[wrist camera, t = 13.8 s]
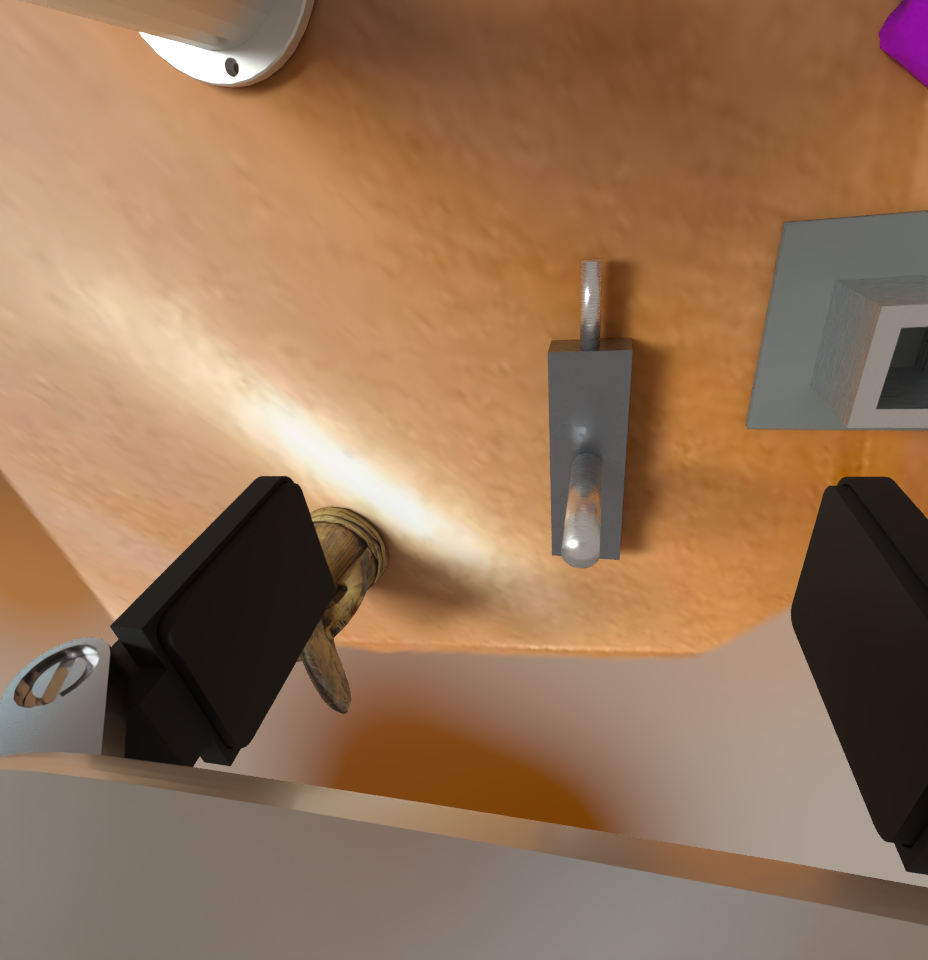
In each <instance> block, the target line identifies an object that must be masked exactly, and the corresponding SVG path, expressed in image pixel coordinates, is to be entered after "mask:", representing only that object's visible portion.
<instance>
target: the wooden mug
mask: <svg viewBox="0 0 928 960" xmlns="http://www.w3.org/2000/svg"><path fill="white" fill-rule="evenodd" d="M310 515H311V518H312V521H313V524H314V527H315V529H316V532H317V535H318V538H319V541H320V544H321V547H322V550H323V552H324V555H325V558H326V561H327V564H328V567H329V570H330V572H331V575H332V578H333V581H334V594H333V597H332V600H331V602H330V603H329V605H328V607H327V609H326V610H325V612H324V614H323V616H322V617H321V619H320V621H319V623H318V624H317V626H316V628H315V630H314V632H313V633H312V635H311V637H310V639H309V640H308V642H307V644H306V646H305V647H304V649H303V651H302V653H301V654H300V656H299V658H298V660H297V662H299V661H303V663H304V666H305V668H306V670H307V673H308V675H309V677H310V679H311V681H312V683H313V684H314V686H315V688H316V690H317V691H318V693H319V694H320V696H321V698H322V699H323V700H324V701H325V702H326V703H327V704H328V705H329V706H330V707H331V708H332V709H334V710H336V711H338V712H340V713H343V714H345V713H347V711H348V708H349V705H350V702H351V692H350V688H349V684H348V681H347V678H346V675H345V672H344V669H343V667H342V664H341V661H340V659H339V656H338V654H337V651H336V648H335V643H334V637H335V636H336V635H337V634H338V633H339V632H340V631H341V630H342V629H343V628H344V627H345V626H346V625H347V623H348V622H349V621H350V619H351V618H352V617H353V615H354V614H355V613H356V611H357V609H358V608H359V606H360V604H361V603H362V601H363V598H364V596H365V593H366V591H367V590H368V589H369V588H370V587H371V586H372V585H374V584H375V583H376V582H377V580H378V579H379V578H380V576H381V575H382V574H383V572H384V571H385V569H386V566H387V564H388V552H387V550H386V548H385V546H384V543H383V541H382V539H381V537H380V536H379V534H378V533H377V531H376V530H375V529H374V528H373V527H372V526H371V525H370V524H369V522H367V521H366V520H364V519H363V518H362V517H360V516H359V515H357V514H355V513H353V512H351V511H349V510H347V509H342V508H333V507H325V508H322V509H318V510H316V511H314V512H312V513H311V514H310Z"/></svg>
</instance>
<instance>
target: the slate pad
mask: <svg viewBox="0 0 928 960" xmlns="http://www.w3.org/2000/svg"><path fill="white" fill-rule="evenodd" d="M912 275H928V210H927V211H915V212H903V213H891V214H878V215H866V216H854V217H842V218H830V219H817V220H805V221H793V222H784V225H783V230H782V235H781V241H780V246H779V251H778V257H777V262H776V267H775V272H774V278H773V283H772V288H771V294H770V299H769V304H768V310H767V315H766V320H765V325H764V331H763V336H762V341H761V347H760V352H759V357H758V362H757V368H756V373H755V378H754V384H753V389H752V394H751V400H750V405H749V410H748V415H747V421H746V427H747V429H814V430H928V428H847V427H846V426H845V425H844V424H843V422H842V421H841V420H840V419H839V418H838V417H837V415H836V414H835V413H834V412H833V411H832V410H831V409H830V407H829V406H828V405H827V404H826V403H825V402H824V401H823V399H822V398H821V397H820V396H819V395H818V394H817V393H816V391H815V390H814V389H813V388H812V387H811V386H810V382H811V378H812V374H813V370H814V365H815V361H816V357H817V353H818V348H819V344H820V340H821V336H822V332H823V327H824V323H825V319H826V315H827V311H828V306H829V302H830V298H831V294H832V290H833V285H834V281H835V280H848V279H864V278H880V277H896V276H912ZM926 329H927V327H908V328H901V331H900V334H899V337H898V340H897V344H896V347H895V350H894V353H893V356H892V359H891V363H890V366H889V367H911V366H914V365H915V362H916V359H917V356H918V353H919V350H920V347H921V344H922V341H923V338H924V335H925V332H926Z"/></svg>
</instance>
